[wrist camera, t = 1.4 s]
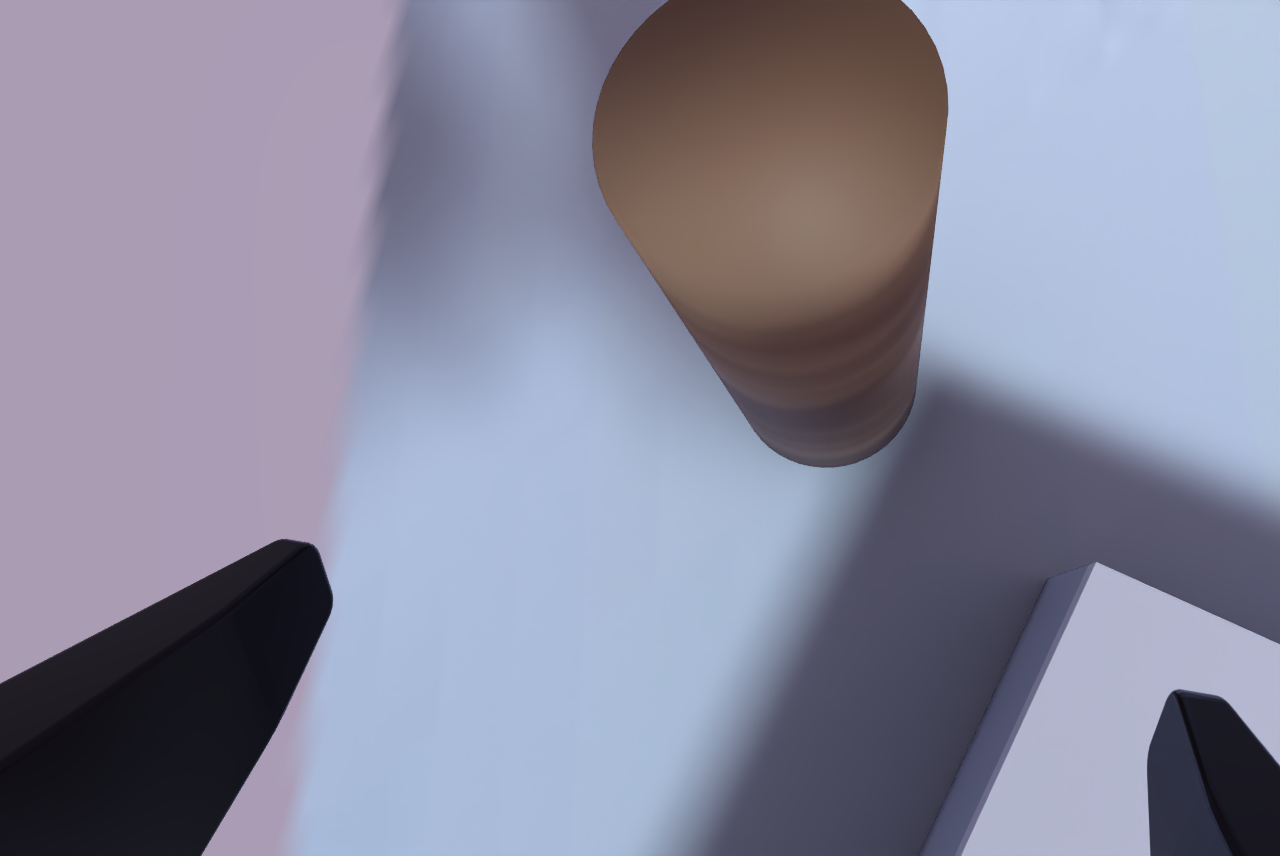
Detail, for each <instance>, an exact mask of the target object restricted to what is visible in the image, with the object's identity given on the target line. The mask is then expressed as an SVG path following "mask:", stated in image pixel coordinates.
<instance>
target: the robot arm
mask: <svg viewBox="0 0 1280 856" xmlns="http://www.w3.org/2000/svg"><path fill="white" fill-rule="evenodd" d="M332 606H333V594H332V590H331V587H330V584H329V581H328V578H327V575H326V572H325V568H324V565H323V562H322V559H321V556H320V553H319V551H318V549H317V548H316V547H315V546H314V545H313V544H310V543H306V542H301V541H295V540H289V539H281V540H277V541H275V542H273V543H271V544H269V545H267V546H265V547H263V548H261V549H259V550H257V551H255V552H253V553H251V554H250V555H247V556H246V557H244V558H242V559H240V560H238V561H236V562H234V563H232V564H230V565H228V566H226V567H224V568H222V569H221V570H219V571H217V572H215V573H213V574H211V575H209V576H207V577H205V578H203V579H201V580H199V581H197V582H195V583H193V584H192V585H190V586H188V587H186V588H184V589H182V590H180V591H178V592H176V593H174V594H172V595H170V596H168V597H167V598H165V599H163V600H161V601H159V602H157V603H155V604H153V605H151V606H149V607H147V608H145V609H143V610H141V611H140V612H137V613H136V614H134V615H132V616H130V617H128V618H126V619H124V620H122V621H120V622H118V623H116V624H114V625H113V626H110V627H109V628H107V629H105V630H103V631H101V632H99V633H97V634H95V635H93V636H91V637H89V638H87V639H85V640H84V641H82V642H80V643H78V644H76V645H74V646H72V647H70V648H68V649H66V650H64V651H62V652H61V653H58V654H56V655H54V656H53V657H51V658H49V659H47V660H45V661H43V662H41V663H39V664H37V665H35V666H33V667H32V668H29V669H28V670H26V671H24V672H22V673H20V674H18V675H16V676H14V677H12V678H10V679H8V680H6V681H4V682H2V683H1V684H0V856H201V855H202V853H203V852H204V850H205V848H206V847H207V845H208V843H209V841H210V840H211V838H212V837H213V835H214V833H215V832H216V830H217V828H218V827H219V825H220V823H221V822H222V820H223V818H224V817H225V815H226V813H227V812H228V810H229V808H230V807H231V805H232V803H233V801H234V800H235V798H236V796H237V795H238V793H239V791H240V790H241V788H242V786H243V785H244V783H245V781H246V779H247V778H248V776H249V775H250V773H251V771H252V769H253V768H254V766H255V765H256V763H257V761H258V760H259V758H260V756H261V755H262V753H263V751H264V749H265V748H266V746H267V744H268V743H269V741H270V739H271V737H272V735H273V734H274V732H275V730H276V728H277V726H278V724H279V722H280V720H281V718H282V716H283V715H284V712H285V711H286V708H287V706H288V704H289V702H290V700H291V698H292V696H293V693H294V691H295V689H296V687H297V685H298V683H299V681H300V679H301V676H302V674H303V672H304V670H305V668H306V666H307V664H308V662H309V659H310V657H311V655H312V653H313V651H314V649H315V647H316V644H317V642H318V640H319V638H320V636H321V634H322V632H323V629H324V627H325V625H326V623H327V621H328V619H329V616H330V614H331V610H332ZM1147 788H1148V812H1149V836H1150V856H1280V765H1279V764H1278V762H1277V761H1276V760H1275V759H1274V758H1273V756H1272V755H1271V754H1270V753H1269V751H1268V750H1267V749H1266V748H1265V747H1264V745H1263V744H1262V743H1261V742H1260V740H1259V739H1258V738H1257V737H1256V736H1255V734H1254V733H1253V732H1252V731H1251V729H1250V728H1249V727H1248V726H1247V725H1246V723H1245V722H1244V721H1243V720H1242V718H1241V717H1240V716H1239V715H1238V714H1237V712H1236V711H1235V710H1234V709H1233V707H1232V706H1231V705H1230V704H1229V703H1228V702H1227V701H1226V700H1225V699H1223V698H1222V697H1220V696H1217V695H1212V694H1206V693H1200V692H1194V691H1188V690H1182V689H1177V690H1174V691H1172V692H1171V693H1170V694H1169V696H1168V697H1167V699H1166V702H1165V705H1164V707H1163V710H1162V713H1161V715H1160V718H1159V721H1158V724H1157V726H1156V729H1155V732H1154V734H1153V737H1152V740H1151V743H1150V746H1149V750H1148V757H1147Z"/></svg>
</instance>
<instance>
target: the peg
mask: <svg viewBox="0 0 1280 856" xmlns="http://www.w3.org/2000/svg"><path fill="white" fill-rule="evenodd" d="M947 117H948V92H947V84H946V79H945V74H944V69H943V65H942V62H941V60H940V57H939V54H938V51H937V49H936V46H935V44H934V43H933V41H932V39H931V37H930V35H929V34H928V32H927V30H926V28H925V27H924V25H923V24H922V23H921V22H920V20H919V19H918V18H917V16H916V15H915V14H914V13H913V11H912V10H911V9H910V8H909V7H908V6H906V5H905V4H904V3H903V2H902V1H901V0H669V1H667V2H666V3H665V4H664V5H663V6H661V7H660V8H659V9H658V10H657V11H655V12H654V13H653V14H652V15H651V16H650V17H649V18H648V19H647V20H646V21H645V22H644V23H643V24H642V25H641V26H640V27H639V28H638V29H637V30H636V31H635V33H634V34H633V35H632V36H631V38H630V39H629V40H628V42H627V43H626V44H625V46H624V47H623V48H622V50H621V51H620V53H619V55H618V56H617V58H616V60H615V61H614V63H613V65H612V66H611V69H610V71H609V73H608V75H607V77H606V80H605V82H604V84H603V87H602V90H601V93H600V96H599V100H598V103H597V106H596V112H595V118H594V124H593V143H592V148H593V158H594V167H595V171H596V175H597V179H598V183H599V187H600V189H601V192H602V194H603V196H604V199H605V201H606V204H607V206H608V207H609V209H610V211H611V213H612V214H613V216H614V218H615V219H616V221H617V223H618V224H619V226H620V227H621V229H622V230H623V232H624V233H625V235H626V236H627V238H628V239H629V241H630V242H631V244H632V245H633V247H634V248H635V250H636V252H637V253H638V255H639V256H640V258H641V259H642V261H643V262H644V264H645V265H646V267H647V268H648V270H649V271H650V273H651V274H652V276H653V277H654V279H655V280H656V282H657V283H658V285H659V287H660V288H661V290H662V291H663V293H664V294H665V296H666V297H667V299H668V300H669V302H670V303H671V305H672V306H673V308H674V309H675V311H676V312H677V314H678V315H679V317H680V318H681V320H682V322H683V323H684V325H685V326H686V328H687V329H688V331H689V332H690V334H691V335H692V337H693V338H694V340H695V341H696V343H697V344H698V346H699V347H700V349H701V350H702V352H703V353H704V355H705V357H706V358H707V360H708V361H709V363H710V364H711V366H712V367H713V369H714V370H715V372H716V373H717V375H718V376H719V378H720V379H721V381H722V382H723V384H724V385H725V387H726V389H727V390H728V392H729V393H730V395H731V396H732V398H733V399H734V401H735V402H736V404H737V405H738V407H739V408H740V410H741V411H742V413H743V414H744V416H745V417H746V419H747V420H748V422H749V424H750V425H751V427H752V428H753V430H754V431H755V432H756V434H757V435H758V436H759V437H760V439H761V440H762V441H763V442H764V443H765V444H766V445H767V446H768V447H770V448H771V449H772V450H774V451H775V452H776V453H778V454H779V455H781V456H783V457H785V458H787V459H789V460H791V461H794V462H797V463H799V464H803V465H807V466H813V467H839V466H846V465H849V464H853V463H856V462H859V461H861V460H864V459H866V458H868V457H870V456H872V455H873V454H875V453H877V452H878V451H880V450H881V449H882V448H883V447H885V446H886V445H887V444H888V443H889V442H890V441H891V440H892V439H893V438H894V437H895V436H896V435H897V434H898V432H899V431H900V430H901V428H902V427H903V425H904V424H905V422H906V420H907V418H908V416H909V414H910V411H911V409H912V406H913V402H914V398H915V392H916V384H917V375H918V367H919V358H920V349H921V341H922V332H923V324H924V315H925V307H926V298H927V290H928V281H929V273H930V264H931V256H932V247H933V239H934V230H935V222H936V213H937V204H938V196H939V187H940V179H941V170H942V162H943V153H944V145H945V136H946V127H947Z"/></svg>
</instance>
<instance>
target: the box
mask: <svg viewBox="0 0 1280 856" xmlns="http://www.w3.org/2000/svg"><path fill="white" fill-rule="evenodd" d="M1177 689H1182V690H1188V691H1194V692H1200V693H1206V694H1212V695H1217V696H1220V697H1222V698H1223V699H1225V700H1226V701H1227V702H1228V703H1229V704H1230V705H1231V706H1232V707H1233V709H1234V710H1235V711H1236V712H1237V714H1238V715H1239V716H1240V717H1241V718H1242V720H1243V721H1244V722H1245V723H1246V725H1247V726H1248V727H1249V728H1250V729H1251V731H1252V732H1253V733H1254V734H1255V736H1256V737H1257V738H1258V739H1259V740H1260V742H1261V743H1262V744H1263V745H1264V747H1265V748H1266V749H1267V750H1268V751H1269V753H1270V754H1271V755H1272V756H1273V758H1274V759H1275V760H1276V761H1277V762H1278V764H1279V765H1280V644H1278V643H1276V642H1274V641H1271V640H1269V639H1267V638H1265V637H1262V636H1260V635H1258V634H1256V633H1253V632H1251V631H1249V630H1247V629H1245V628H1242V627H1240V626H1238V625H1236V624H1233V623H1231V622H1229V621H1227V620H1225V619H1222V618H1220V617H1218V616H1216V615H1213V614H1211V613H1209V612H1207V611H1205V610H1202V609H1200V608H1198V607H1196V606H1193V605H1191V604H1189V603H1187V602H1184V601H1182V600H1180V599H1178V598H1176V597H1173V596H1171V595H1169V594H1167V593H1164V592H1162V591H1160V590H1158V589H1156V588H1153V587H1151V586H1149V585H1147V584H1144V583H1142V582H1140V581H1138V580H1135V579H1133V578H1131V577H1129V576H1127V575H1124V574H1122V573H1120V572H1118V571H1115V570H1113V569H1111V568H1109V567H1107V566H1104V565H1102V564H1100V563H1098V562H1095V563H1092V564H1089V565H1086V566H1083V567H1080V568H1077V569H1074V570H1071V571H1068V572H1065V573H1062V574H1060V575H1057V576H1054V577H1051V578H1048V579H1047V580H1046V582H1045V584H1044V587H1043V589H1042V591H1041V593H1040V595H1039V597H1038V600H1037V602H1036V604H1035V606H1034V608H1033V610H1032V613H1031V615H1030V617H1029V619H1028V621H1027V623H1026V625H1025V628H1024V630H1023V632H1022V634H1021V636H1020V638H1019V641H1018V643H1017V645H1016V647H1015V649H1014V651H1013V653H1012V656H1011V658H1010V660H1009V662H1008V664H1007V666H1006V669H1005V671H1004V673H1003V675H1002V677H1001V679H1000V681H999V684H998V686H997V688H996V690H995V692H994V694H993V697H992V699H991V701H990V703H989V705H988V707H987V710H986V712H985V714H984V716H983V718H982V720H981V722H980V725H979V727H978V729H977V731H976V733H975V735H974V738H973V740H972V742H971V744H970V746H969V748H968V750H967V753H966V755H965V757H964V759H963V761H962V763H961V766H960V768H959V770H958V772H957V774H956V776H955V778H954V781H953V783H952V785H951V787H950V789H949V791H948V794H947V796H946V798H945V800H944V802H943V804H942V807H941V809H940V811H939V813H938V815H937V817H936V819H935V822H934V824H933V826H932V828H931V830H930V832H929V835H928V837H927V839H926V841H925V843H924V845H923V847H922V850H921V852H920V854H919V856H1150V836H1149V812H1148V788H1147V757H1148V750H1149V746H1150V743H1151V740H1152V737H1153V734H1154V732H1155V729H1156V726H1157V724H1158V721H1159V718H1160V715H1161V713H1162V710H1163V707H1164V705H1165V702H1166V699H1167V697H1168V696H1169V694H1170V693H1171V692H1172V691H1174V690H1177Z"/></svg>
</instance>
